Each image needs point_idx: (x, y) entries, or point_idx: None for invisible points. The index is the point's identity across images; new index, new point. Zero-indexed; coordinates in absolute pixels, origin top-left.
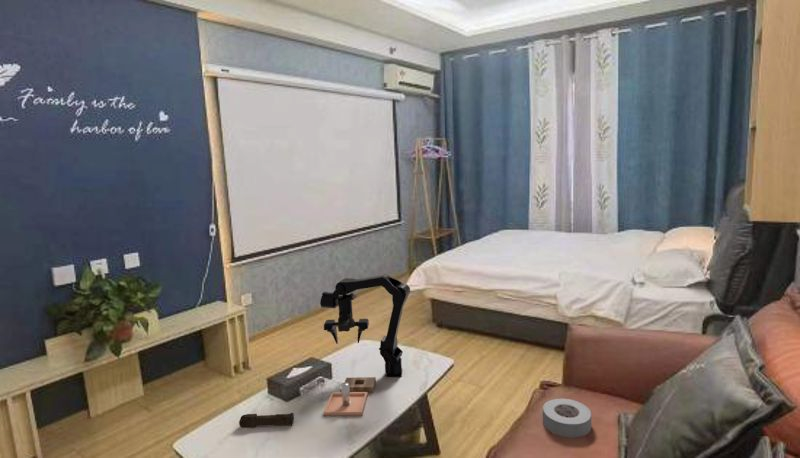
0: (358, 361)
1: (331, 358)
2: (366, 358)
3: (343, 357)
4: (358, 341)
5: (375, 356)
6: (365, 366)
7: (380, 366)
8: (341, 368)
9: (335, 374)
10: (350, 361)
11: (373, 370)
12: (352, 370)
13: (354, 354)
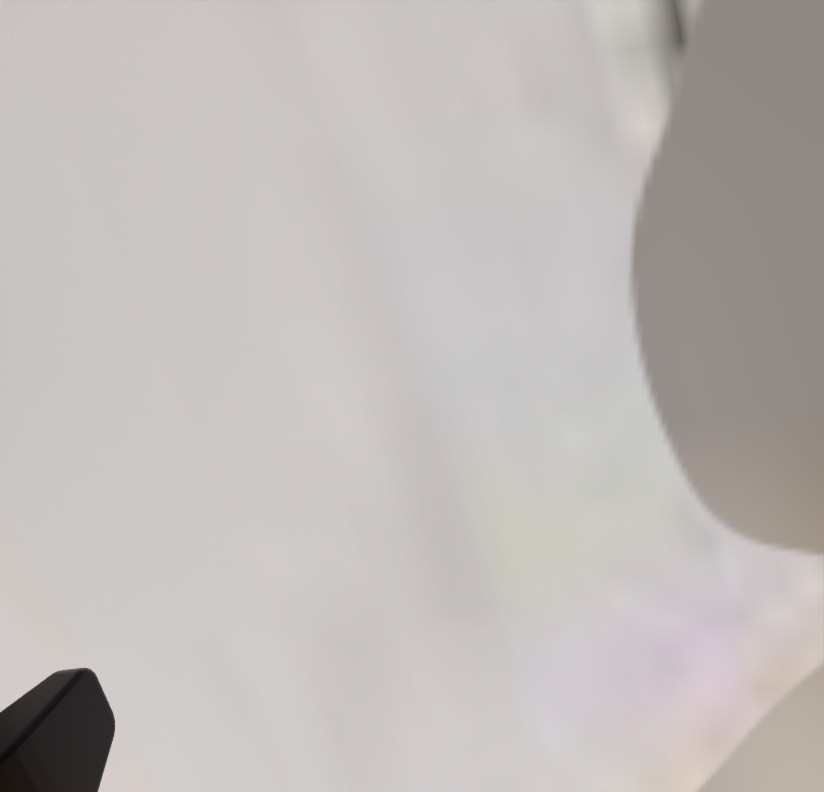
0: (395, 581)
1: (806, 631)
2: (317, 660)
3: (638, 665)
4: (8, 714)
5: (222, 711)
6: (243, 457)
7: (35, 475)
8: (584, 366)
9: (634, 153)
10: (508, 573)
11: (76, 353)
12: (391, 321)
13: (511, 741)
